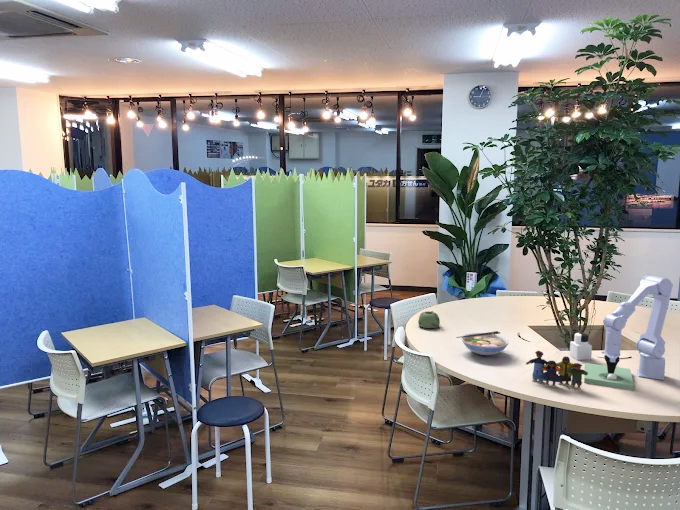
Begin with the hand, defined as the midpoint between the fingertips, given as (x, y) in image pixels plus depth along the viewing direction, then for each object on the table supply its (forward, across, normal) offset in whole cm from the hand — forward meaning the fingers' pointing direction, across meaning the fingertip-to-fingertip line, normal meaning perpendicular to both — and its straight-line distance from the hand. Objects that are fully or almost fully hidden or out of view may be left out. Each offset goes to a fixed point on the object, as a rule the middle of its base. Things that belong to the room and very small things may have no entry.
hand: (610, 373), depth 209 cm
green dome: (+3, -46, -94) cm, 105 cm away
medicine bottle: (+3, -24, -12) cm, 27 cm away
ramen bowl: (+3, -10, -55) cm, 56 cm away
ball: (+1, +3, 0) cm, 3 cm away
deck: (+3, -2, -1) cm, 3 cm away
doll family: (+3, +16, -21) cm, 26 cm away
